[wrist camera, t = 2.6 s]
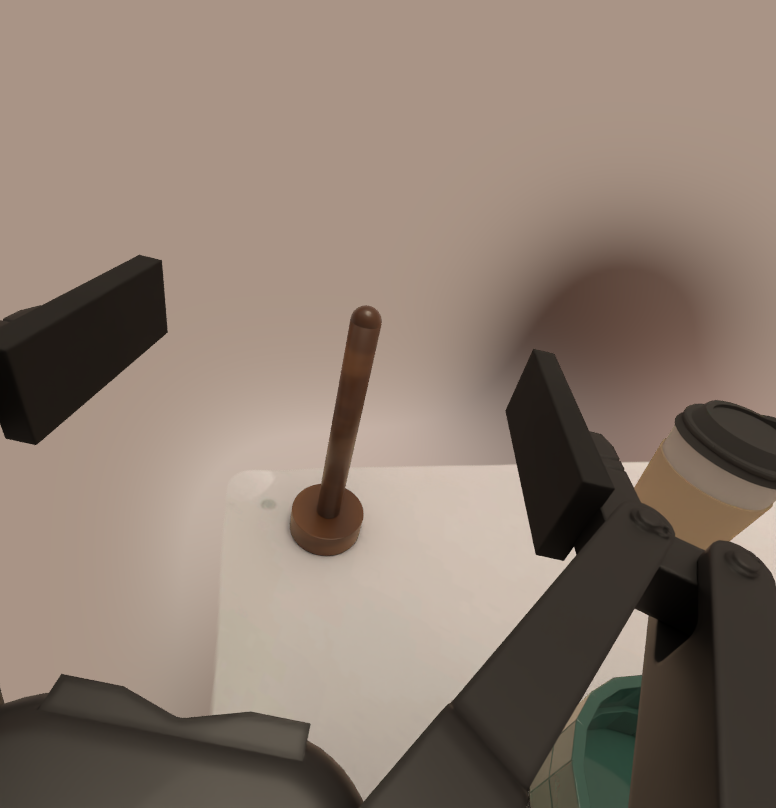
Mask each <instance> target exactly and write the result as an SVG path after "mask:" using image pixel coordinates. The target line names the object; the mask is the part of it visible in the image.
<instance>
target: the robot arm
mask: <svg viewBox="0 0 776 808" xmlns="http://www.w3.org/2000/svg"><path fill="white" fill-rule="evenodd" d="M167 332H168V331H167V318H166V307H165V294H164V281H163V270H162V260H158V259H154V258H150V257H146V256H142V255H138V256H136V257H134V258H132V259H131V260H129V261H127V262H125V263H123V264H121V265H119V266H117V267H115V268H113V269H111V270H109V271H107V272H105V273H103V274H102V275H100V276H98V277H96V278H94V279H92V280H90V281H88V282H86V283H84V284H82V285H80V286H78V287H76V288H75V289H73V290H71V291H69V292H67V293H65V294H63V295H61V296H59V297H57V298H55V299H53V300H51V301H49V302H48V303H46V304H44V305H42V306H41V305H40V306H36V307H32V308H28V309H24V310H20V311H18V312H16V313H14V314H12V315H10V316H8V317H6V318H4V319H3V321H0V425H1V427H2V430H3V433H4V436H5V438H6V439H10V440H15V441H20V442H24V443H29V444H34V445H36V444H38V443H39V442H40V441H42V440H43V439H44V438H45V437H46V436H47V435H49V434H50V433H51V432H52V431H53V430H54V429H56V428H57V427H58V426H59V425H60V424H61V423H62V422H64V421H65V420H66V419H67V418H68V417H69V416H71V415H72V414H73V413H74V412H75V411H77V410H78V409H79V408H80V407H81V406H82V405H84V404H85V403H86V402H87V401H88V400H89V399H90V398H92V397H93V396H94V395H95V394H96V393H98V391H100V390H101V389H102V388H103V387H104V386H106V385H107V384H108V383H109V382H110V381H112V380H113V379H114V378H115V377H116V376H117V375H118V374H120V373H121V372H122V371H123V370H124V369H125V368H127V367H128V366H129V365H130V364H131V363H132V362H134V361H135V360H136V359H137V358H138V357H140V356H141V355H142V354H143V353H144V352H145V351H147V350H148V349H149V348H150V347H151V346H152V345H153V344H155V343H156V342H157V341H158V340H159V339H160V338H162V337H163V336H164V335H165V334H166V333H167ZM506 416H507V420H508V425H509V430H510V434H511V439H512V444H513V449H514V453H515V458H516V463H517V468H518V472H519V477H520V482H521V487H522V491H523V496H524V501H525V506H526V510H527V515H528V520H529V525H530V529H531V534H532V539H533V544H534V548H535V553H536V555H539V556H544V557H549V558H553V559H558V560H562V561H564V560H565V558H566V557H567V555H568V554H569V553H570V551H571V550H572V548H573V547H574V548H575V551H576V556H575V558H574V559H573V560H572V561H571V562H570V563H569V565H568V566H567V567H566V568H565V569H564V571H563V572H562V573H561V574H560V575H559V576H558V578H557V579H556V580H555V581H554V582H553V583H552V585H551V586H550V587H549V588H548V589H547V591H546V592H545V593H544V594H543V595H542V596H541V598H540V599H539V600H538V601H537V602H536V604H535V605H534V606H533V607H532V608H531V609H530V611H529V612H528V613H527V614H526V615H525V616H524V618H523V619H522V620H521V621H520V622H519V624H518V625H517V626H516V627H515V628H514V629H513V631H512V632H511V633H510V634H509V635H508V637H507V638H506V639H505V640H504V641H503V642H502V644H501V645H500V646H499V647H498V648H497V649H496V651H495V652H494V653H493V654H492V655H491V657H490V658H489V659H488V660H487V661H486V662H485V664H484V665H483V666H482V667H481V668H480V669H479V671H478V672H477V673H476V674H475V675H474V677H473V678H472V679H471V680H470V681H469V682H468V684H467V685H466V686H465V687H464V688H463V690H462V691H461V692H460V693H459V694H458V695H457V697H456V698H455V699H454V700H453V701H452V702H451V703H450V704H448V705H447V706H446V707H445V708H444V709H443V710H442V711H441V712H440V713H439V715H438V716H437V717H436V718H435V719H434V720H433V721H432V723H431V724H430V725H429V726H428V727H427V728H426V730H425V731H424V732H423V733H422V734H421V735H420V737H419V738H418V739H417V740H416V741H415V742H414V744H413V745H412V746H411V747H410V748H409V749H408V751H407V752H406V753H405V754H404V755H403V756H402V758H401V759H400V760H399V761H398V762H397V763H396V765H395V766H394V767H393V768H392V769H391V771H390V772H389V773H388V774H387V775H386V776H385V778H384V779H383V780H382V781H381V782H380V783H379V785H378V786H377V787H376V788H375V789H374V790H373V792H372V793H371V794H370V795H369V796H368V797H367V799H366V800H365V801H364V802H363V800H362V798H361V796H360V794H359V793H358V791H357V789H356V787H355V785H354V784H353V782H352V781H351V779H350V778H349V777H348V775H347V774H346V772H345V771H344V770H343V769H342V768H341V767H340V765H339V764H338V763H337V762H336V761H335V760H334V759H333V758H332V757H331V756H329V755H328V754H327V753H326V752H324V751H323V750H322V749H321V748H319V747H318V746H316V745H314V744H313V743H311V742H309V741H308V740H307V738H308V734H309V729H310V723H305V722H300V721H295V720H290V719H285V718H280V717H275V716H270V715H265V714H260V713H255V712H242V713H232V714H222V715H212V716H202V717H191V718H179V717H176V716H174V715H172V714H170V713H168V712H167V711H165V710H163V709H162V708H160V707H158V706H157V705H154V704H153V703H151V702H149V701H148V700H146V699H144V698H143V697H141V696H139V695H138V694H136V693H134V692H132V691H130V690H129V689H127V688H125V687H124V686H119V685H114V684H109V683H104V682H99V681H94V680H89V679H84V678H79V677H74V676H69V675H64V674H61V675H60V677H59V679H58V680H57V682H56V683H55V685H54V686H53V688H52V689H51V691H50V692H49V693H45V694H39V695H34V696H29V697H24V698H21V699H18V700H15V701H12V702H8V703H5V704H4V700H3V697H2V693H1V690H0V808H526V806H527V803H528V800H529V796H528V791H529V788H530V786H531V784H532V782H533V780H534V778H535V777H536V775H537V773H538V772H539V770H540V768H541V767H542V765H543V763H544V761H545V760H546V758H547V756H548V755H549V753H550V751H551V750H552V748H553V746H554V745H555V743H556V741H557V739H558V738H559V736H560V734H561V733H562V731H563V729H564V728H565V726H566V724H567V722H568V721H569V719H570V717H571V716H572V714H573V712H574V711H575V709H576V707H577V705H578V704H579V702H580V700H581V699H582V697H583V695H584V694H585V692H586V690H587V688H588V687H589V685H590V683H591V682H592V680H593V678H594V677H595V675H596V673H597V672H598V670H599V668H600V666H601V665H602V663H603V661H604V660H605V658H606V656H607V655H608V653H609V651H610V649H611V648H612V646H613V644H614V643H615V641H616V639H617V638H618V636H619V634H620V632H621V631H622V629H623V627H624V626H625V624H626V622H627V621H628V619H629V617H630V615H631V614H632V612H633V610H634V609H637V610H639V611H641V612H643V613H645V614H647V615H649V617H648V626H647V636H646V645H645V654H644V664H643V673H642V682H641V692H640V701H639V710H638V720H637V729H636V738H635V748H634V757H633V766H632V776H631V785H630V794H629V804H628V808H776V584H775V580H774V578H773V576H772V573H771V572H770V571H769V569H768V568H767V567H766V566H765V564H764V563H763V562H762V561H761V560H760V559H759V558H758V557H756V555H754V554H753V553H752V552H750V551H748V550H746V549H745V548H743V547H741V546H739V545H737V544H734V543H732V542H729V541H723V540H718V541H715V542H713V543H712V544H711V545H710V546H709V547H708V548H707V549H706V550H703V549H701V548H699V547H697V546H694V545H692V544H690V543H688V542H686V541H683V540H681V539H679V538H677V537H675V532H674V529H673V527H672V525H671V524H670V523H669V522H668V520H667V519H666V518H665V517H664V516H663V515H662V514H660V513H659V512H658V511H657V510H655V509H654V508H652V507H650V506H648V505H646V504H644V503H641V501H640V499H639V497H638V495H637V493H636V491H635V489H634V487H633V485H632V483H631V481H630V479H629V477H628V475H627V473H626V472H625V471H624V467H623V465H622V463H621V461H619V457H618V455H617V453H616V451H615V449H614V447H613V446H612V445H611V444H610V443H609V442H608V441H607V440H606V439H605V438H604V437H603V435H601V434H598V433H594V432H590V431H589V430H588V428H587V426H586V423H585V421H584V419H583V416H582V414H581V412H580V410H579V408H578V406H577V403H576V401H575V399H574V397H573V394H572V392H571V390H570V388H569V385H568V383H567V381H566V379H565V377H564V374H563V372H562V370H561V368H560V365H559V363H558V361H557V359H556V357H555V354H553V353H549V352H545V351H540V350H536V349H533V351H532V353H531V355H530V358H529V360H528V362H527V364H526V366H525V369H524V371H523V373H522V375H521V377H520V380H519V382H518V384H517V387H516V389H515V391H514V393H513V395H512V397H511V400H510V402H509V404H508V406H507V409H506Z"/></svg>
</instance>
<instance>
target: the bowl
mask: <svg viewBox="0 0 776 808" xmlns="http://www.w3.org/2000/svg"><path fill="white" fill-rule="evenodd" d="M641 682H642V675H637V676H626V677H615V678H612V679H611V680H609V681H607V682H606V683H604V684H603V685H601V686H600V687H598V688H597V689H595V690H594V691H592V692H591V693H590V694H589V695H587V696H586V697H585V698H584V699H583V700H582V701H581V702H580V703H579V704H578V705H577V707H576V709H575V711H574V712H573V714H572V716H571V717H570V719H569V721H568V722H567V724H566V726H565V728H564V729H563V731H562V733H561V734H560V736H559V738H558V739H557V741H556V743H555V745H554V746H553V748H552V750H551V751H550V753H549V755H548V756H547V758H546V760H545V761H544V763H543V765H542V767H541V768H540V770H539V772H538V773H537V775H536V777H535V778H534V780H533V782H532V784H531V786H530V808H628V804H629V794H630V785H631V776H632V766H633V757H634V748H635V738H636V729H637V720H638V710H639V701H640V692H641Z"/></svg>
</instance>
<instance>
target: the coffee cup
mask: <svg viewBox="0 0 776 808" xmlns="http://www.w3.org/2000/svg"><path fill="white" fill-rule="evenodd" d="M634 489H635V491H636V493H637V495H638V497H639V499H640V501H641V503H644V504H646V505H648V506H650V507H652V508H654V509H655V510H657V511H658V512H659V513H660V514H662V515H663V516H664V517H665V518H666V519H667V520H668V522H669V523H670V524H671V525H672V527H673V529H674V532H675V537H677V538H679V539H681V540H683V541H686V542H688V543H690V544H692V545H694V546H697V547H699V548H701V549H703V550H706V549H707V548H708V547H709V546H710V545H711V544H712V543H713V542H715V541H718V540H723V541H730V540H731V539H733V538H734V537H735V536H736V535H738V534H739V533H740V532H741V531H743V530H744V529H745V528H746V527H748V526H749V525H750V524H752V523H753V522H754V521H755V520H757V519H758V518H759V517H760V516H762V515H763V514H764V513H765V512H767V511H768V510H769V509H770V508H771V507H772V506H773V502H775V501H776V418H774V417H770V416H765V415H760V414H758V413H756V412H754V411H752V410H750V409H747V408H745V407H742V406H739V405H737V404H733V403H730V402H725V401H718V400H715V401H710V402H708V403H706V404H693V405H690V406H688V407H686V409H685V410H684V412H683V413H680V414H679V415H677V416H676V418H675V426H674V427H673V429H672V430H671V432H670V434H669V436H668V437H667V438H665V439H664V440H663V441H662V443H661V444H660V446H659V448H658V449H657V451H656V452H655V454H654V456H653V458H652V459H651V461H650V462H649V464H648V466H647V467H646V469H645V471H644V472H643V474H642V476H641V477H640V479H639V481H638V482H637V484H636V486H635V487H634Z"/></svg>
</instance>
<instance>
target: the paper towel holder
mask: <svg viewBox="0 0 776 808" xmlns="http://www.w3.org/2000/svg"><path fill="white" fill-rule="evenodd" d="M381 323H382V321H381V316H380V314H379V312H378V311H377V310H376V309H375V308H373V307H371V306H361V307H358V308H357V309H356V310H355V311H354V312H353V314H352V316H351V319H350V325H349V331H348V336H347V342H346V348H345V353H344V359H343V365H342V370H341V376H340V381H339V387H338V393H337V399H336V404H335V410H334V415H333V421H332V427H331V432H330V438H329V444H328V449H327V455H326V460H325V466H324V472H323V477H322V483H321V484H317V485H313V486H310V487H308V488H306V489H304V490H303V491H302V492H300V493H299V494H298V495H297V497H296V498H295V500H294V502H293V506H292V513H291V521H290V530H291V534H292V536H293V538H294V540H295V541H296V542H297V544H298V545H299V546H300V547H302V548H303V549H305V550H306V551H308V552H311V553H313V554H317V555H323V556H330V555H336V554H339V553H342V552H344V551H346V550H348V549H349V548H350V547H351V546H352V545H353V544H354V543H355V542H356V540H357V538H358V535H359V531H360V528H361V524H362V520H363V507H362V505H361V503H360V501H359V499H358V498H357V497H356V496H355V495H354V494H353V493H352V492H351V491H349V490H347V489H346V488H345V486H346V481H347V477H348V472H349V468H350V463H351V458H352V454H353V450H354V445H355V441H356V436H357V432H358V427H359V422H360V418H361V414H362V409H363V405H364V400H365V396H366V391H367V387H368V382H369V378H370V373H371V368H372V364H373V360H374V355H375V351H376V346H377V342H378V337H379V333H380V328H381Z"/></svg>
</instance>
